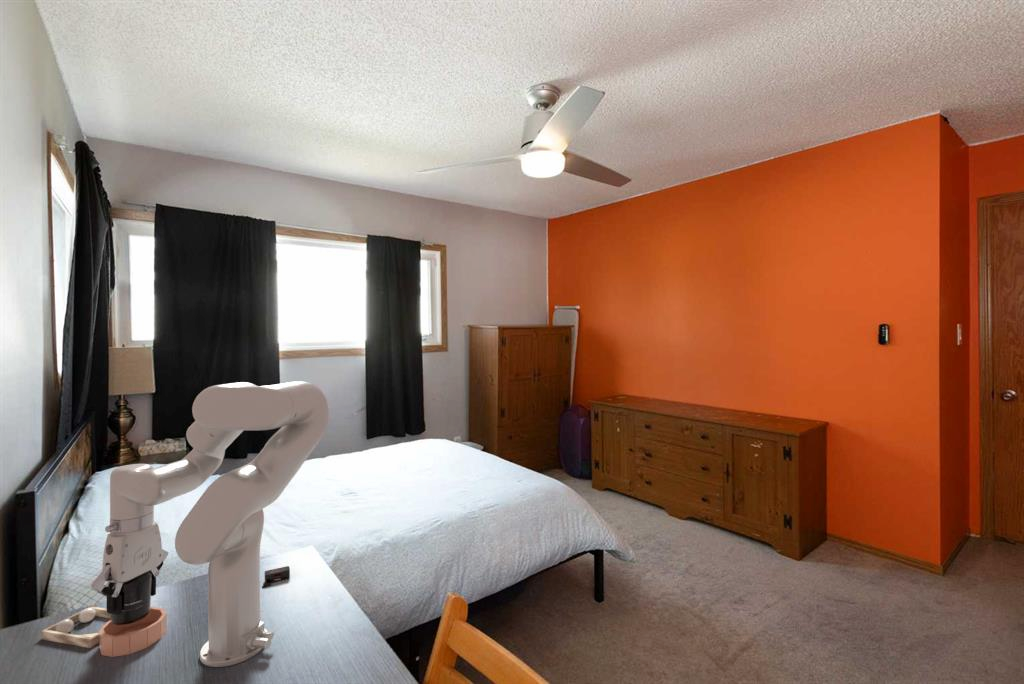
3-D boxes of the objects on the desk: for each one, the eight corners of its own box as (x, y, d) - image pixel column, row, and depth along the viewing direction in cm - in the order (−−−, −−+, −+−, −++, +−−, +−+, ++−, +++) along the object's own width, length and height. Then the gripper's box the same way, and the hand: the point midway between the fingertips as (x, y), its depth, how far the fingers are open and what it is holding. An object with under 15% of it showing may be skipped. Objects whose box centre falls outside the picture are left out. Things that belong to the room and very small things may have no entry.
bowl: (178, 628, 109) (177, 610, 109) (128, 660, 98) (128, 640, 98) (139, 621, 111) (138, 604, 111) (86, 652, 100) (86, 633, 100)
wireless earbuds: (261, 583, 129) (261, 571, 129) (289, 577, 132) (289, 565, 132) (261, 590, 125) (261, 578, 125) (290, 584, 128) (290, 572, 128)
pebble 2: (99, 618, 112) (99, 606, 112) (85, 626, 110) (85, 613, 110) (89, 617, 113) (89, 604, 113) (75, 624, 110) (75, 611, 110)
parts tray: (137, 621, 111) (137, 613, 111) (90, 648, 102) (90, 639, 102) (90, 614, 115) (90, 606, 115) (41, 640, 105) (41, 631, 105)
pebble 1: (77, 630, 108) (77, 617, 108) (62, 638, 105) (61, 624, 105) (67, 628, 109) (67, 615, 109) (51, 636, 106) (51, 623, 106)
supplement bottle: (128, 628, 101) (130, 572, 100) (102, 623, 102) (103, 568, 102) (158, 610, 107) (160, 557, 107) (133, 605, 109) (134, 553, 109)
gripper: (103, 540, 95) (103, 629, 95) (182, 510, 112) (182, 586, 112) (74, 536, 97) (74, 624, 97) (156, 507, 114) (156, 582, 114)
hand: (132, 603), depth 105 cm, fingers closed on supplement bottle, 6 cm apart
